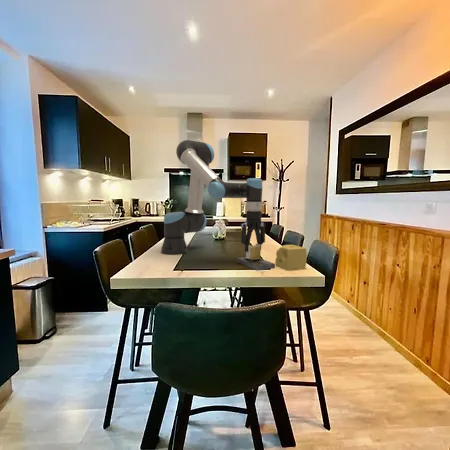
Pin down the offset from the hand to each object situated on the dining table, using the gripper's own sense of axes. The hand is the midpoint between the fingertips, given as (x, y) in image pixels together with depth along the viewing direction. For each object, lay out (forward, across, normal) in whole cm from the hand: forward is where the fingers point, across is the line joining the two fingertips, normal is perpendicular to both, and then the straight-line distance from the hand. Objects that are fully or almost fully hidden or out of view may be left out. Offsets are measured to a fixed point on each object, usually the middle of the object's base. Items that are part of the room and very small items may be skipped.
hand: (252, 257), depth 138 cm
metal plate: (+3, 0, -2) cm, 4 cm away
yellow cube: (0, 0, 0) cm, 1 cm away
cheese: (+4, +13, -13) cm, 19 cm away
